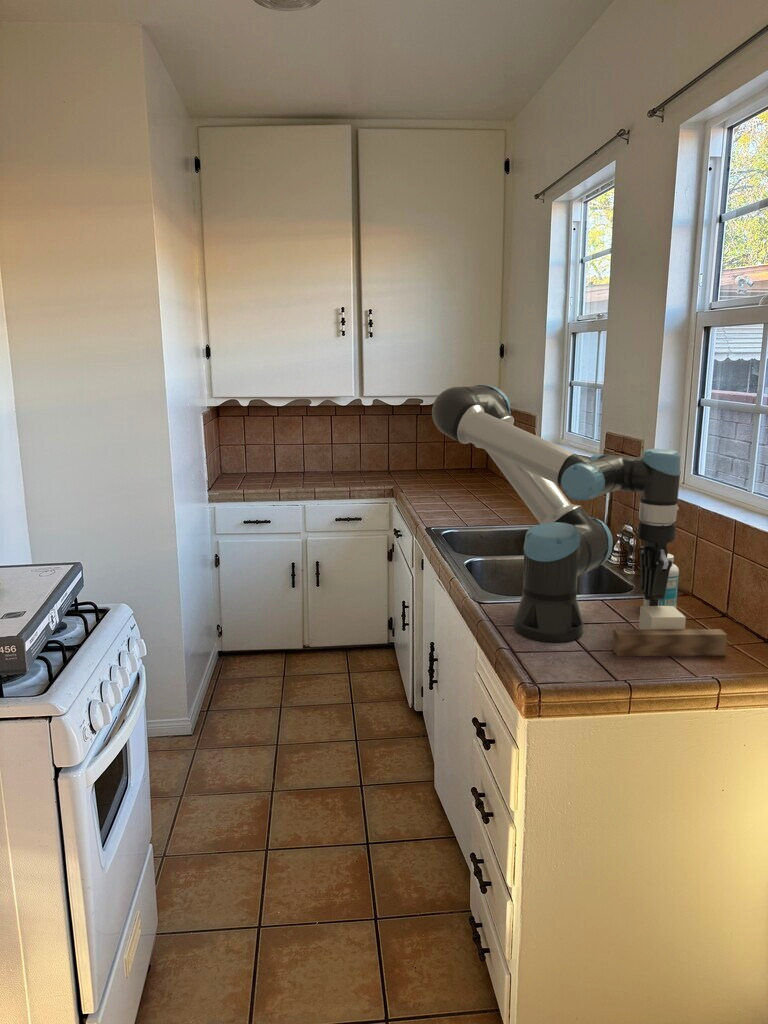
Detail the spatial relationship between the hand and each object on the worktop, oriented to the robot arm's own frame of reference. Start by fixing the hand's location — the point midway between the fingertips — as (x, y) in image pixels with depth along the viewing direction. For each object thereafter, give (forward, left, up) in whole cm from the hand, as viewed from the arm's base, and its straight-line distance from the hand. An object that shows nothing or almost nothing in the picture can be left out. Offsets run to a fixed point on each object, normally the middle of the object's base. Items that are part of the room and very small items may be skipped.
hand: (649, 625), depth 161 cm
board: (0, -12, -1) cm, 12 cm away
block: (0, -6, -1) cm, 6 cm away
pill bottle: (+8, +15, -2) cm, 17 cm away
